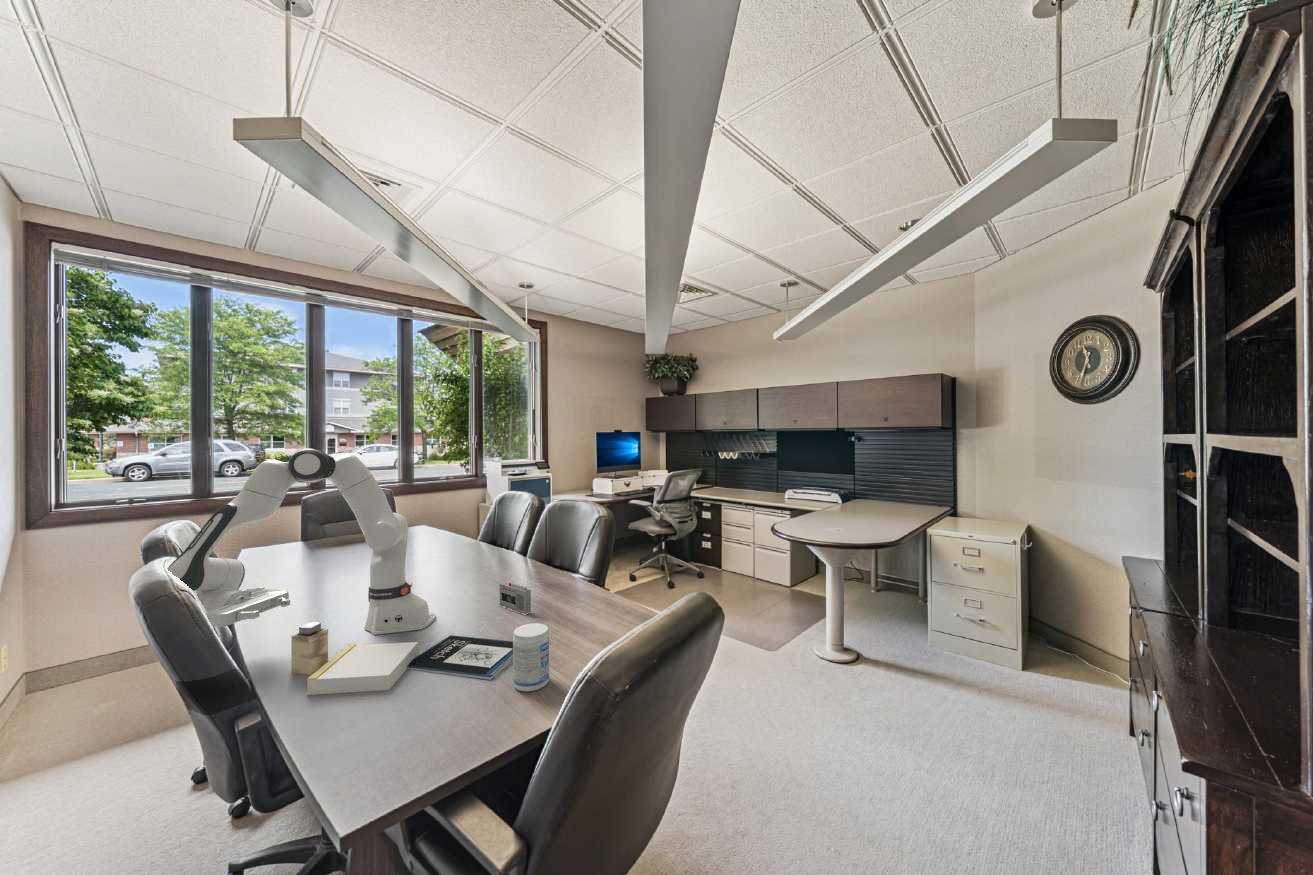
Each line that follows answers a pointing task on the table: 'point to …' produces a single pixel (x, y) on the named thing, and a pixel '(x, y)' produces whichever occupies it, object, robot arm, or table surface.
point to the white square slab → (363, 668)
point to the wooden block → (309, 652)
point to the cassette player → (515, 597)
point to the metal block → (309, 629)
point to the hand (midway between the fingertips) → (273, 608)
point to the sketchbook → (466, 657)
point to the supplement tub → (531, 657)
